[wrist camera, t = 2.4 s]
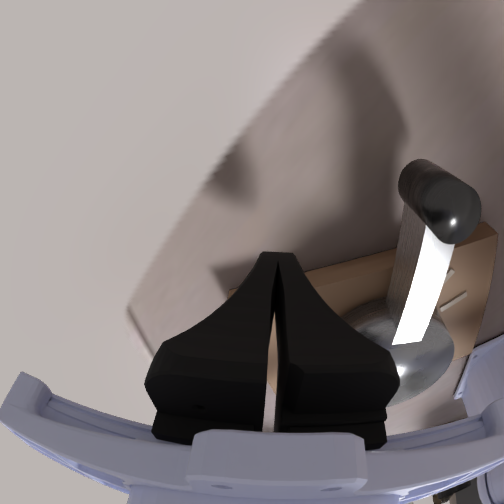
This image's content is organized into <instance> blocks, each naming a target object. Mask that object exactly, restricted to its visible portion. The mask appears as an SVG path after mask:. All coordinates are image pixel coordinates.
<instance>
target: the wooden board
mask: <svg viewBox="0 0 504 504" xmlns="http://www.w3.org/2000/svg"><path fill="white" fill-rule="evenodd" d="M497 241H498V233H497V232H496V231H495V230H494V229H493V228H492V227H490V226H489V225H488V224H487V223H486V222H482V223H479V224H477V226H476V228H475V230H474V231H473V232H472V234H471V235H470V236H469V237H468V238H467V239H465V240H464V241H462V242H460V243H457V244H455V245H454V249H453V253H452V256H451V260H450V263H449V266H448V270H447V273H446V276H445V279H444V282H443V285H442V288H441V291H440V294H439V297H438V299H437V302H436V305H435V307H436V309H437V310H438V312H439V314H440V316H441V318H442V320H443V322H444V324H445V326H446V328H447V330H448V332H449V334H450V336H451V338H452V340H453V342H454V346H455V351H454V356H453V359H452V361H454V360H457V359H459V358H462V357H464V356H467V355H469V354H471V353H472V351H473V348H474V345H475V342H476V339H477V335H478V332H479V329H480V325H481V322H482V318H483V315H484V311H485V307H486V303H487V298H488V294H489V289H490V285H491V280H492V274H493V269H494V263H495V256H496V249H497ZM396 251H397V248H395V249H391V250H387V251H384V252H380V253H376V254H373V255H369V256H365V257H361V258H358V259H354V260H350V261H346V262H343V263H339V264H335V265H331V266H327V267H323V268H319V269H315V270H311V271H307V272H304V273H305V275H306V276H307V278H308V280H309V281H310V283H311V284H312V286H313V287H314V288H315V290H316V291H317V292H318V294H319V295H320V296H321V297H322V299H323V300H324V301H325V302H326V303H327V304H328V306H329V307H330V308H331V309H332V310H333V311H334V312H335V313H336V314H337V315H338V316H339V317H342V316H343V315H344V314H346V313H348V312H349V311H351V310H352V309H354V308H356V307H358V306H360V305H361V304H364V303H366V302H369V301H371V300H374V299H377V298H380V297H385V296H387V292H388V288H389V284H390V280H391V275H392V271H393V266H394V261H395V256H396ZM237 289H238V288H236V289H231V290H230V291H229V295H228V299H229V298H230V297H231V296H232V295H233V293H234V292H235V291H236V290H237ZM228 299H227V300H228ZM277 367H278V356H277V340H276V326H275V312H274V319H273V325H272V332H271V338H270V344H269V350H268V369H267V381H268V383H269V384H270V386H271V388H272V389H273V391H274V393H275V394H276V388H277Z"/></svg>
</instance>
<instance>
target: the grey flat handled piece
mask: <svg viewBox="0 0 504 504" xmlns="http://www.w3.org/2000/svg"><path fill="white" fill-rule="evenodd" d="M398 190H399V194H400V196H401V198H402V200H403V201H404V208H403V215H402V222H401V228H400V234H399V240H398V246H397V251H396V256H395V261H394V266H393V271H392V275H391V280H390V284H389V288H388V292H387V296H385V297H380V298H377V299H374V300H371V301H369V302H366V303H364V304H361V305H360V306H358V307H356V308H354V309H352V310H351V311H349V312H348V313H346V314H344V315H343V316H342V317H341V318H342V319H343V320H344V321H345V322H346V323H348V324H349V325H350V326H351V327H353V328H354V329H355V330H356V331H358V332H359V333H361V334H362V335H364V336H365V337H366V338H368V339H369V340H371V341H373V342H375V343H376V344H378V345H380V346H381V347H383V348H385V349H387V350H388V351H390V353H391V355H392V358H393V360H394V362H395V364H396V367H397V370H398V373H399V377H400V387H399V389H398V391H397V392H396V394H395V395H394V397H393V398H392V399H391V401H390V402H389V404H388V405H387V406H386V407H389V406H393V405H396V404H399V403H401V402H404V401H406V400H408V399H411V398H413V397H414V396H416V395H418V394H420V393H421V392H423V391H425V390H426V389H427V388H429V387H430V386H431V385H433V384H434V383H435V382H436V381H437V380H438V379H439V378H440V377H441V376H442V375H443V374H444V373H445V371H446V370H447V368H448V367H449V365H450V363H451V362H452V359H453V356H454V351H455V346H454V342H453V340H452V338H451V336H450V334H449V332H448V330H447V328H446V326H445V324H444V322H443V320H442V318H441V316H440V314H439V312H438V310H437V309H436V307H435V305H436V302H437V299H438V297H439V294H440V291H441V288H442V285H443V282H444V279H445V276H446V273H447V270H448V266H449V263H450V260H451V256H452V253H453V249H454V245H455V244H457V243H460V242H462V241H464V240H465V239H467V238H468V237H469V236H470V235H471V234H472V232H473V231H474V230H475V228H476V226H477V224H478V222H479V219H480V215H481V201H480V198H479V196H478V194H477V192H476V191H475V190H474V189H473V188H472V187H470V186H469V185H467V184H466V183H464V182H463V181H461V180H460V179H458V178H457V177H455V176H454V175H452V174H450V173H449V172H447V171H446V170H444V169H442V168H441V167H439V166H437V165H436V164H434V163H432V162H430V161H428V160H425V159H417V160H414V161H412V162H410V163H409V164H408V165H406V167H405V168H404V169H403V170H402V172H401V174H400V177H399V181H398Z"/></svg>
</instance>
